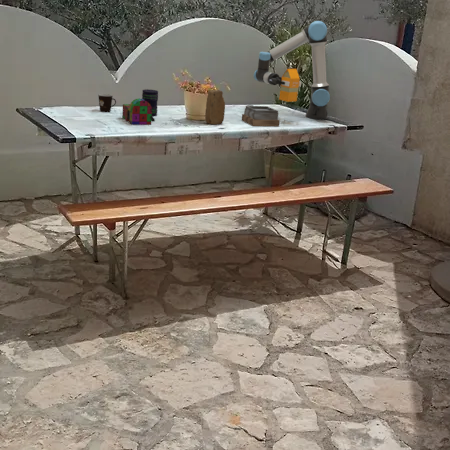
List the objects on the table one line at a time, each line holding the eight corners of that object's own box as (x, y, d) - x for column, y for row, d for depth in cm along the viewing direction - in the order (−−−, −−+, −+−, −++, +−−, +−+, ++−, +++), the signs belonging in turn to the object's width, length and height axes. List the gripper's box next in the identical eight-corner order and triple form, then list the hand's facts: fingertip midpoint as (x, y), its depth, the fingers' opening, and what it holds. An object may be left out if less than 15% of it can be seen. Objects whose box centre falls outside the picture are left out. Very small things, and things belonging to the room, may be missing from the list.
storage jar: (137, 114, 372) (138, 89, 367) (148, 112, 379) (149, 89, 374) (149, 117, 367) (150, 92, 361) (160, 115, 374) (161, 91, 369)
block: (208, 124, 360) (211, 91, 353) (203, 122, 367) (206, 89, 360) (224, 124, 365) (227, 91, 358) (219, 122, 371) (222, 89, 364)
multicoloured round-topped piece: (160, 125, 348) (161, 100, 343) (131, 125, 341) (132, 100, 336) (146, 116, 369) (147, 93, 364) (119, 116, 361) (120, 92, 356)
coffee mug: (95, 110, 372) (95, 94, 368) (108, 109, 377) (108, 93, 373) (104, 113, 363) (104, 97, 360) (116, 113, 368) (117, 97, 365)
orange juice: (296, 101, 384) (301, 69, 377) (287, 101, 378) (292, 69, 371) (287, 99, 389) (291, 67, 382) (278, 99, 384) (282, 67, 377)
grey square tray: (241, 120, 384) (243, 105, 381) (266, 120, 391) (268, 106, 387) (252, 126, 369) (254, 110, 365) (278, 126, 375) (280, 111, 372)
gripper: (283, 84, 401) (306, 90, 384) (258, 84, 388) (281, 90, 372) (284, 73, 398) (308, 78, 382) (259, 72, 385) (282, 78, 369)
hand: (294, 84), depth 377 cm, fingers closed on orange juice, 9 cm apart
